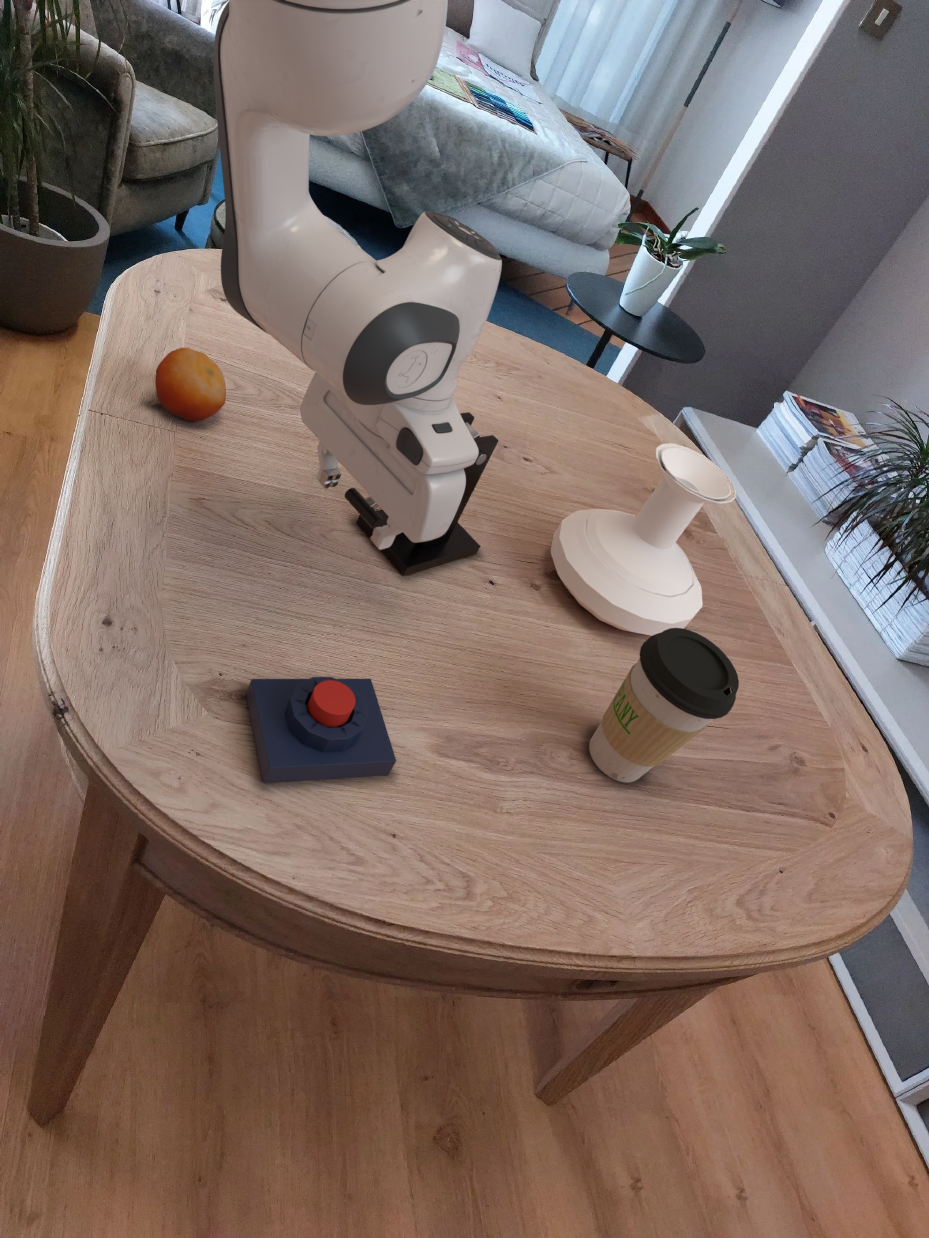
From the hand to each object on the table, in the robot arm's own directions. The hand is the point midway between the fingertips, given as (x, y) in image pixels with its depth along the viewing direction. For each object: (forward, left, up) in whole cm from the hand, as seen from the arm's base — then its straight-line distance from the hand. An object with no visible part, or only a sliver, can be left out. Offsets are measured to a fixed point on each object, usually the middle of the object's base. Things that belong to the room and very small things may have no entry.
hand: (352, 513), depth 85 cm
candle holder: (+36, -2, -7) cm, 37 cm away
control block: (-7, -22, -7) cm, 24 cm away
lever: (+7, +3, +3) cm, 8 cm away
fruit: (-13, +24, -7) cm, 28 cm away
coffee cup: (+24, -26, -7) cm, 36 cm away
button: (-7, -22, -3) cm, 23 cm away
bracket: (+11, +5, -7) cm, 14 cm away
